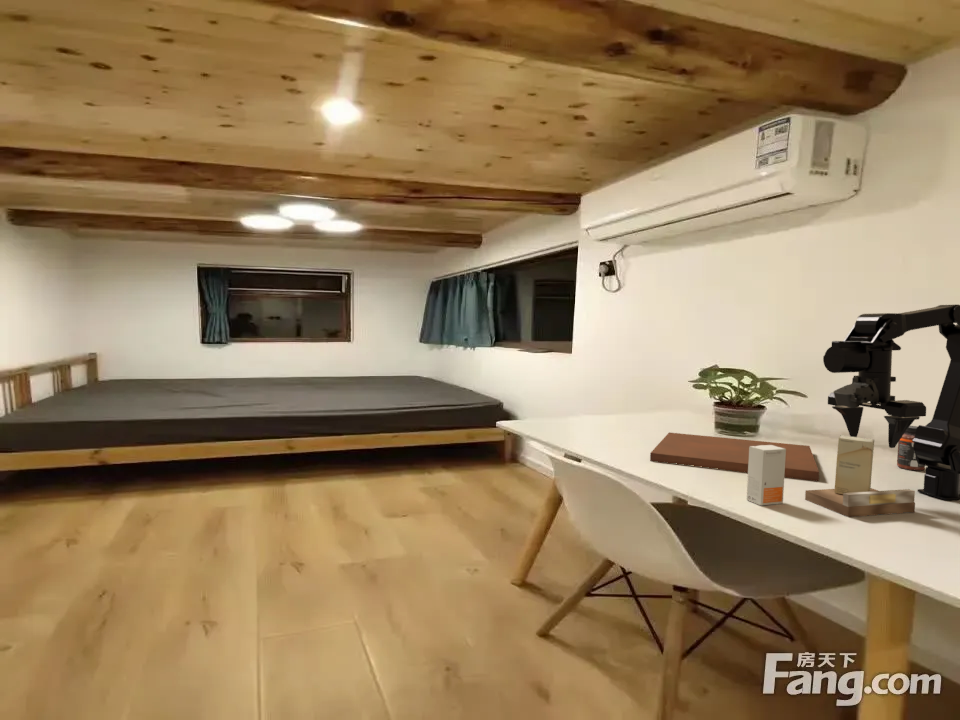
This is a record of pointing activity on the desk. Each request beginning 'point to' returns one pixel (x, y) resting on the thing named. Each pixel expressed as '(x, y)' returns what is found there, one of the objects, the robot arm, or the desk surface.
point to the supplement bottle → (908, 451)
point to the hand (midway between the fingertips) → (872, 442)
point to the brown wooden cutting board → (730, 454)
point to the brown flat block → (864, 501)
